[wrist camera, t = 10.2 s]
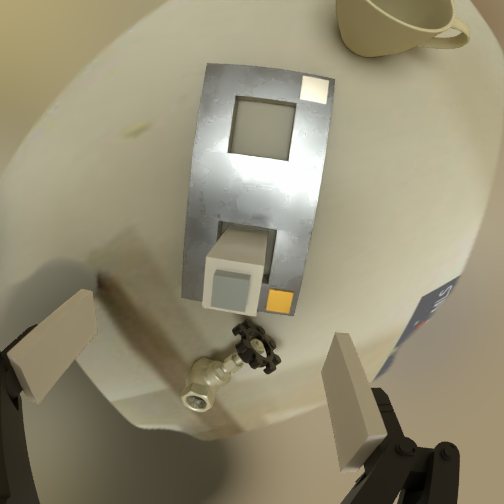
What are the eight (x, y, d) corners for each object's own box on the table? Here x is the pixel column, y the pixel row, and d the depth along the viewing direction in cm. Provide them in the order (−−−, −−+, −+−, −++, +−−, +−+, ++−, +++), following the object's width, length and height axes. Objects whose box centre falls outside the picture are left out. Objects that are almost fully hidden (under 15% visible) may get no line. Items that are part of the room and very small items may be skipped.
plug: (224, 262, 30) (198, 314, 20) (228, 225, 29) (202, 261, 18) (262, 268, 30) (254, 323, 19) (268, 231, 29) (263, 271, 18)
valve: (215, 388, 36) (281, 344, 33) (206, 423, 30) (281, 380, 27) (179, 359, 35) (242, 309, 32) (163, 393, 29) (234, 342, 25)
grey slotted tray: (186, 289, 31) (180, 298, 29) (211, 69, 24) (206, 62, 22) (292, 307, 31) (293, 317, 29) (331, 84, 24) (335, 78, 21)
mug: (358, 93, 24) (407, 55, 12) (304, 20, 21) (318, -46, 10) (430, 64, 21) (492, 32, 10) (381, -3, 19) (419, -56, 8)
